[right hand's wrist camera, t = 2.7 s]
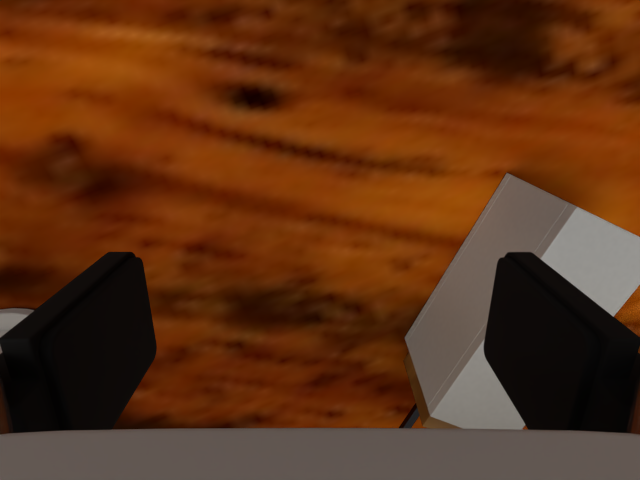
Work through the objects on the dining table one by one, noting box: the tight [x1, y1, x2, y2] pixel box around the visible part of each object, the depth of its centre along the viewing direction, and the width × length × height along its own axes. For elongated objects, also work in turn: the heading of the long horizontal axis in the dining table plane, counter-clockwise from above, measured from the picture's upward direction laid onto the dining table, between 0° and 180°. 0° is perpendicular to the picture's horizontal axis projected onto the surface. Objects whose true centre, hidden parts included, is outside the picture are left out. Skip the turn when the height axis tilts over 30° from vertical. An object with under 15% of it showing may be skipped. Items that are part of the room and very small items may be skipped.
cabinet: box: [405, 173, 640, 430], centre depth 31 cm, size 16×6×9 cm, turn 156°
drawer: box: [399, 352, 463, 429], centre depth 32 cm, size 21×5×8 cm, turn 156°
